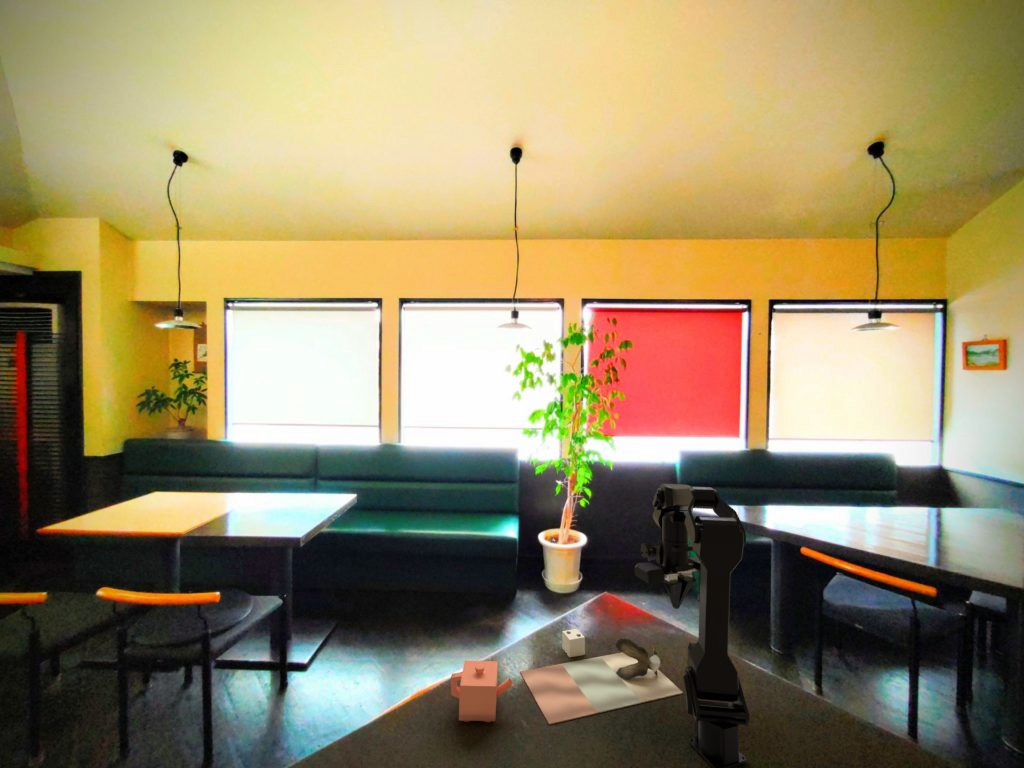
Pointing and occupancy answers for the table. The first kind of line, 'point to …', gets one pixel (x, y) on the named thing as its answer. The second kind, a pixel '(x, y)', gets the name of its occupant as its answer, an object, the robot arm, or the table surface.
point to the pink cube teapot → (478, 690)
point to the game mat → (593, 687)
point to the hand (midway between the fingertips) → (675, 608)
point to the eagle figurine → (642, 658)
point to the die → (573, 642)
